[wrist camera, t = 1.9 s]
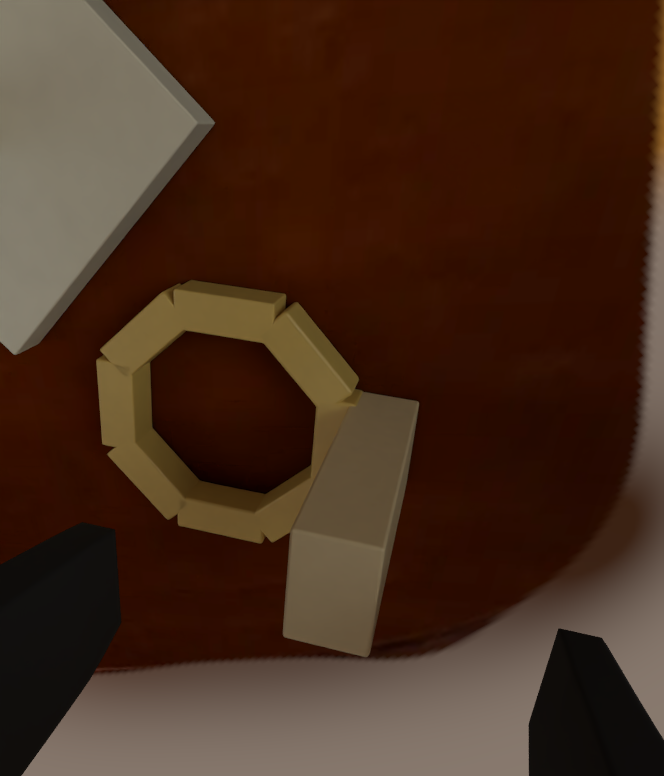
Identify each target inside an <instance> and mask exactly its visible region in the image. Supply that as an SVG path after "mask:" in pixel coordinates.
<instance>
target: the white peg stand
mask: <svg viewBox="0 0 664 776" xmlns="http://www.w3.org/2000/svg"><path fill="white" fill-rule="evenodd" d="M214 124H215V122H214V121H213V120H212V118H211V117H210V116H209V115H208V114H207V113H206V112H205V111H204V110H203V109H202V108H201V107H200V105H199V104H198V103H197V102H196V101H195V100H194V99H193V98H192V97H191V96H190V95H189V94H188V92H187V91H186V90H185V89H184V88H183V87H182V86H181V85H180V84H179V83H178V82H177V81H176V79H175V78H174V77H173V76H172V75H171V74H170V73H169V72H168V71H167V70H166V69H165V68H164V66H163V65H162V64H161V63H160V62H159V61H158V60H157V59H156V58H155V57H154V56H153V55H152V54H151V52H150V51H149V50H148V49H147V48H146V47H145V46H144V45H143V44H142V43H141V42H140V41H139V39H138V38H137V37H136V36H135V35H134V34H133V33H132V32H131V31H130V30H129V29H128V28H127V26H126V25H125V24H124V23H123V22H122V21H121V20H120V19H119V18H118V17H117V16H116V15H115V13H114V12H113V11H112V10H111V9H110V8H109V7H108V6H107V5H106V4H105V3H104V2H103V0H0V342H1V343H2V344H3V345H4V346H5V347H6V348H7V349H9V350H10V351H11V352H12V353H13V354H14V355H17V354H19V353H21V352H23V351H25V350H27V349H29V348H31V347H33V346H35V345H37V344H39V343H40V342H41V340H42V339H43V338H44V337H45V335H46V334H47V333H48V332H49V330H50V329H51V328H52V327H53V325H54V324H55V323H56V322H57V320H58V319H59V318H60V317H61V315H62V314H63V313H64V312H65V310H66V309H67V308H68V307H69V305H70V304H71V303H72V302H73V300H74V299H75V298H76V297H77V295H78V294H79V293H80V292H81V290H82V289H83V288H84V287H85V285H86V284H87V283H88V282H89V280H90V279H91V278H92V277H93V275H94V274H95V273H96V272H97V270H98V269H99V268H100V267H101V265H102V264H103V263H104V262H105V260H106V259H107V258H108V257H109V255H110V254H111V253H112V252H113V250H114V249H115V248H116V247H117V245H118V244H119V243H120V242H121V240H122V239H123V238H124V237H125V235H126V234H127V233H128V232H129V230H130V229H131V228H132V227H133V225H134V224H135V223H136V222H137V220H138V219H139V218H140V217H141V215H142V214H143V213H144V212H145V210H146V209H147V208H148V207H149V205H150V204H151V203H152V202H153V200H154V199H155V198H156V197H157V195H158V194H159V193H160V192H161V190H162V189H163V188H164V187H165V185H166V184H167V183H168V182H169V180H170V179H171V178H172V177H173V175H174V174H175V173H176V172H177V171H178V169H179V168H180V167H181V166H182V164H183V163H184V162H185V161H186V159H187V158H188V157H189V156H190V154H191V153H192V152H193V151H194V149H195V148H196V147H197V146H198V144H199V143H200V142H201V141H202V139H203V138H204V137H205V136H206V134H207V133H208V132H209V131H210V129H211V128H212V127H213V126H214Z"/></svg>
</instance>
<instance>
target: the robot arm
mask: <svg viewBox="0 0 664 776" xmlns="http://www.w3.org/2000/svg"><path fill="white" fill-rule="evenodd" d="M120 624H121V612H120V597H119V582H118V568H117V553H116V538H115V530H114V529H110V528H105V527H101V526H96V525H92V524H87V523H83V522H82V523H80V524H78V525H76V526H73V527H71V528H69V529H67V530H65V531H63V532H61V533H59V534H57V535H55V536H54V537H52V538H50V539H48V540H46V541H44V542H42V543H40V544H38V545H36V546H35V547H33V548H31V549H29V550H27V551H25V552H23V553H21V554H20V555H18V556H16V557H14V558H12V559H10V560H8V561H6V562H5V563H3V564H1V565H0V776H21V775H22V774H23V773H24V771H25V770H26V769H27V767H28V765H29V764H30V763H31V762H32V760H33V759H34V757H35V756H36V755H37V753H38V752H39V750H40V749H41V748H42V746H43V745H44V744H45V742H46V741H47V739H48V738H49V737H50V735H51V734H52V732H53V731H54V729H55V728H56V726H57V725H58V724H59V723H60V721H61V720H62V718H63V717H64V716H65V714H66V713H67V711H68V710H69V709H70V707H71V705H72V704H73V703H74V702H75V700H76V699H77V697H78V696H79V694H80V693H81V692H82V690H83V689H84V687H85V686H86V684H87V683H88V681H89V680H90V678H91V677H92V675H93V673H94V671H95V670H96V668H97V666H98V664H99V663H100V661H101V659H102V657H103V656H104V654H105V652H106V650H107V648H108V646H109V645H110V643H111V641H112V639H113V637H114V635H115V633H116V631H117V629H118V628H119V626H120ZM529 776H664V740H663V738H662V736H661V735H660V733H659V732H658V730H657V728H656V727H655V725H654V724H653V722H652V721H651V719H650V717H649V715H648V714H647V712H646V711H645V709H644V707H643V706H642V704H641V702H640V701H639V699H638V697H637V696H636V694H635V692H634V690H633V689H632V687H631V685H630V684H629V682H628V680H627V679H626V677H625V675H624V674H623V672H622V670H621V669H620V667H619V665H618V663H617V662H616V660H615V658H614V657H613V655H612V653H611V652H610V650H609V648H608V647H607V645H606V643H605V642H604V641H603V639H602V638H600V637H595V636H591V635H586V634H582V633H577V632H573V631H568V630H564V629H558V632H557V635H556V639H555V642H554V645H553V648H552V651H551V654H550V658H549V661H548V664H547V667H546V670H545V674H544V677H543V680H542V683H541V686H540V690H539V693H538V696H537V699H536V702H535V706H534V709H533V712H532V715H531V718H530V722H529Z"/></svg>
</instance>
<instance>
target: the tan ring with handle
mask: <svg viewBox="0 0 664 776" xmlns="http://www.w3.org/2000/svg"><path fill="white" fill-rule="evenodd" d="M285 308H286V294H282V293H276V292H269V291H262V290H255V289H249V288H242V287H235V286H228V285H222V284H215V283H208V282H201V281H195V280H190V281H188V282H186V283H184V284H183V285H181V284H180V283H179V284H177V285H175V286H173V287H171V288H169V289H167V290H165V291H163V292H161V293H160V294H159V295H158V296H157V297H156V298H155V299H154V300H153V301H152V302H151V303H149V304H148V305H147V306H146V307H145V308H144V309H143V310H142V311H141V312H140V313H139V314H138V315H136V316H135V317H134V318H133V319H132V320H131V321H130V322H129V323H128V324H127V325H126V326H124V327H123V328H122V329H121V330H120V331H119V332H118V333H117V334H116V335H115V336H114V337H113V338H111V339H110V340H109V341H108V342H107V343H106V344H105V345H104V346H103V347H102V348H101V349H100V351H101V352H102V353H103V354H104V355H103V356H102V357H100V358H98V359H97V360H96V364H97V378H98V392H99V405H100V419H101V433H102V444H103V445H107V446H112V447H114V448H113V449H112V450H111V451H110V452H108V456H109V457H110V458H111V459H112V460H113V461H114V463H115V464H116V465H117V466H118V467H119V468H120V469H121V470H122V471H123V472H124V473H125V474H126V476H127V477H128V478H129V479H130V480H131V481H132V482H133V483H134V484H135V485H136V486H137V487H138V489H139V490H140V491H141V492H142V493H143V494H144V495H145V496H146V497H147V498H148V499H149V500H150V501H151V503H152V504H153V505H154V506H155V507H156V508H157V509H158V510H159V511H160V512H161V513H162V514H163V516H164V517H165V518H166V519H167V520H169V519H171V518H172V517H174V516H175V515H177V514H178V525H179V526H183V527H187V528H192V529H196V530H201V531H205V532H210V533H215V534H219V535H224V536H228V537H233V538H237V539H242V540H246V541H251V542H256V543H262V542H263V540H264V539H265V537H267V538H268V539H269V540H270V541H271V542H274V541H276V540H278V539H279V538H281V537H283V536H284V535H286V534H288V533H290V540H289V554H288V568H287V582H286V595H285V609H284V623H283V636H284V637H286V638H289V639H294V640H298V641H302V642H306V643H310V644H314V645H318V646H322V647H326V648H330V649H335V650H339V651H343V652H347V653H351V654H355V655H359V656H363V657H368V655H369V654H370V650H371V646H372V641H373V636H374V632H375V627H376V622H377V618H378V613H379V609H380V604H381V599H382V595H383V590H384V585H385V581H386V576H387V571H388V567H389V562H390V557H391V553H392V548H393V543H394V539H395V534H396V530H397V525H398V520H399V516H400V511H401V506H402V502H403V497H404V492H405V488H406V483H407V477H408V471H409V465H410V459H411V452H412V446H413V440H414V434H415V427H416V421H417V415H418V409H419V402H418V401H413V400H407V399H402V398H396V397H390V396H384V395H378V394H372V393H367V392H363V391H361V390H358V389H355V387H356V385H357V383H358V381H359V378H358V376H357V375H356V374H355V372H354V371H353V370H352V369H351V367H350V366H349V365H348V364H347V362H346V361H345V360H344V359H343V358H342V356H341V355H340V354H339V353H338V351H337V350H336V349H335V348H334V346H333V345H332V344H331V343H330V341H329V340H328V339H327V338H326V337H325V335H324V334H323V333H322V332H321V330H320V329H319V328H318V327H317V325H316V324H315V323H314V322H313V320H312V319H311V318H310V317H309V316H308V314H307V313H306V312H305V311H304V309H303V308H302V307H301V306H300V304H299V303H297V302H295V303H293V304H291V305H290V306H289V307H288V308H286V309H285ZM186 331H192V332H199V333H205V334H211V335H217V336H223V337H229V338H235V339H242V340H248V341H254V342H260V343H264V344H265V345H266V347H267V348H268V349H269V350H270V351H271V353H272V354H273V355H274V356H275V357H276V359H277V360H278V361H279V362H280V363H281V365H282V366H283V367H284V368H285V369H286V371H287V372H288V373H289V374H290V376H291V377H292V378H293V379H294V380H295V382H296V383H297V384H298V385H299V386H300V388H301V389H302V390H303V391H304V392H305V394H306V395H307V396H308V397H309V398H310V400H311V401H312V402H313V403H314V404H315V406H316V415H315V427H314V439H313V451H312V462H311V465H310V466H309V467H307V468H306V469H304V470H302V471H301V472H299V473H298V474H296V475H295V476H293V477H292V478H290V479H289V480H287V481H285V482H284V483H282V484H281V485H279V486H278V487H276V488H275V489H273V490H271V491H270V492H268V493H267V494H262V493H257V492H253V491H248V490H243V489H238V488H233V487H228V486H223V485H218V484H214V483H209V482H204V481H200V480H199V479H198V478H197V477H196V476H195V475H194V474H193V472H192V471H191V470H190V469H189V468H188V467H187V466H186V465H185V464H184V462H183V461H182V460H181V459H180V458H179V457H178V456H177V455H176V453H175V452H174V451H173V450H172V449H171V448H170V447H169V446H168V445H167V443H166V442H165V441H164V440H163V439H162V438H161V437H160V436H159V435H158V433H157V432H156V431H155V430H154V429H153V428H152V405H151V376H150V362H151V361H152V360H153V359H154V358H155V357H156V356H158V355H159V354H160V353H161V352H162V351H163V350H165V349H166V348H167V347H168V346H169V345H170V344H172V343H173V342H174V341H175V340H176V339H177V338H179V337H180V336H181V335H182V334H183V333H184V332H186Z"/></svg>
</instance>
